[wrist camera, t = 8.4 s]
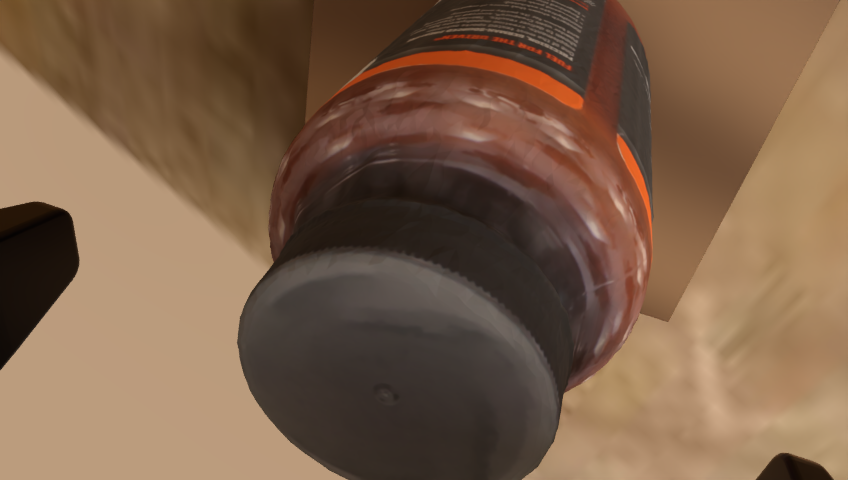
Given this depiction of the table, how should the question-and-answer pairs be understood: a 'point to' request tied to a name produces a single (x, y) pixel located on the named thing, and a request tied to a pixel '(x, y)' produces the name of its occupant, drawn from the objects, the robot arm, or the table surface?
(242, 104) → the table surface
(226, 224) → the table surface
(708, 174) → the walnut base
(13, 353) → the robot arm
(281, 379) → the supplement bottle
